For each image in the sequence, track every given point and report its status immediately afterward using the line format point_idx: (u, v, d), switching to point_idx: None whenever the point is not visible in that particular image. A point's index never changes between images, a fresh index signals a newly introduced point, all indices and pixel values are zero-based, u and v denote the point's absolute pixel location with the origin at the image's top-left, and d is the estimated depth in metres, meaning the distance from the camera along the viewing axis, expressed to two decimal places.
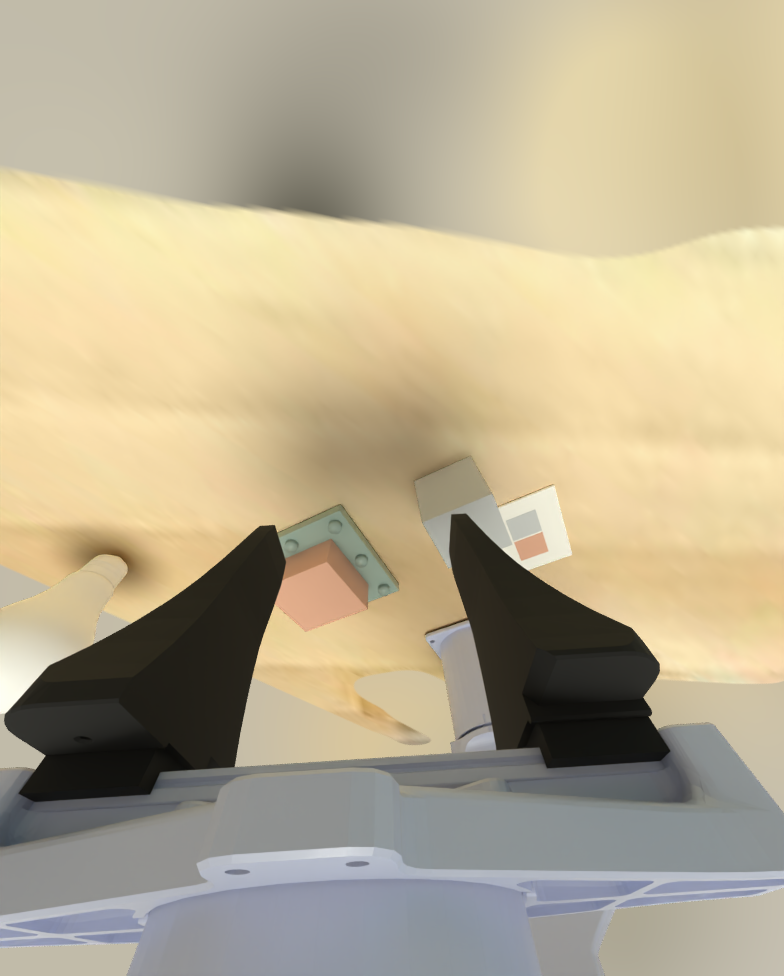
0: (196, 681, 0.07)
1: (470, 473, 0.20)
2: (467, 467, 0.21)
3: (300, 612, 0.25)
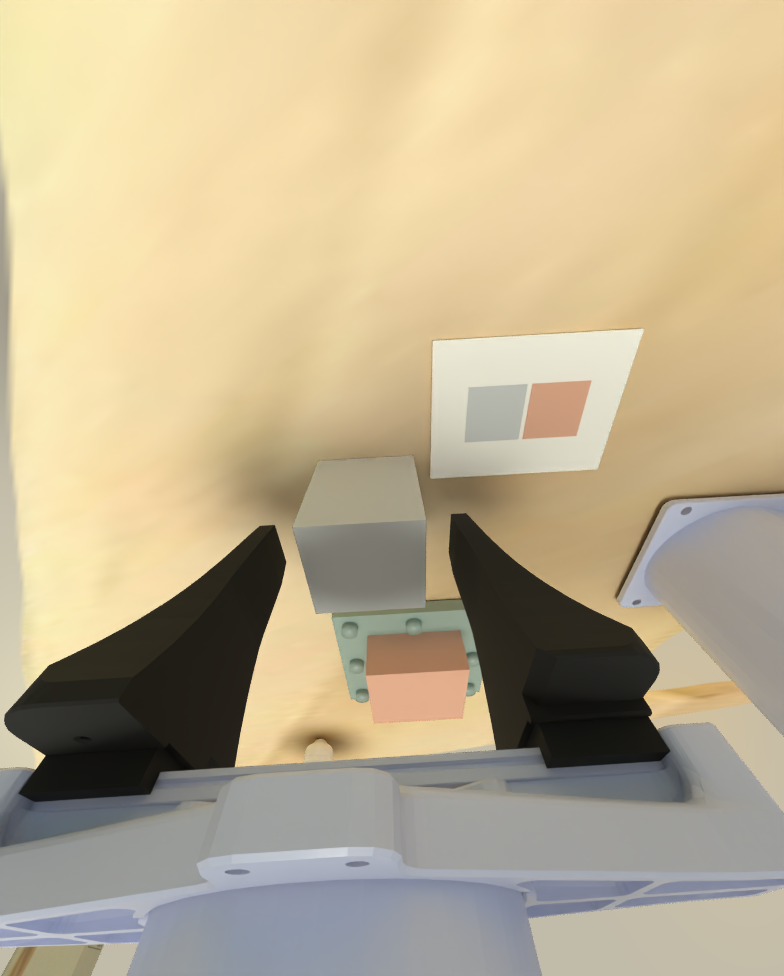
0: (196, 681, 0.07)
1: None
2: None
3: (429, 712, 0.20)
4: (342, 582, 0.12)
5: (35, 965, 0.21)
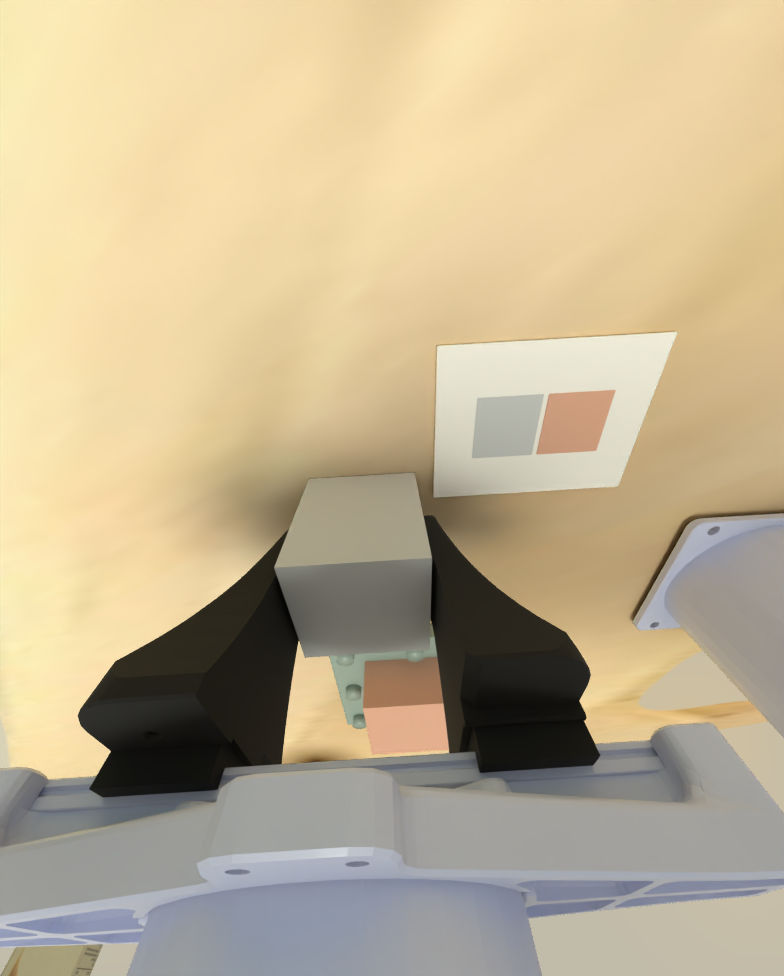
0: (252, 677, 0.07)
1: None
2: None
3: (432, 743, 0.19)
4: (334, 625, 0.10)
5: None
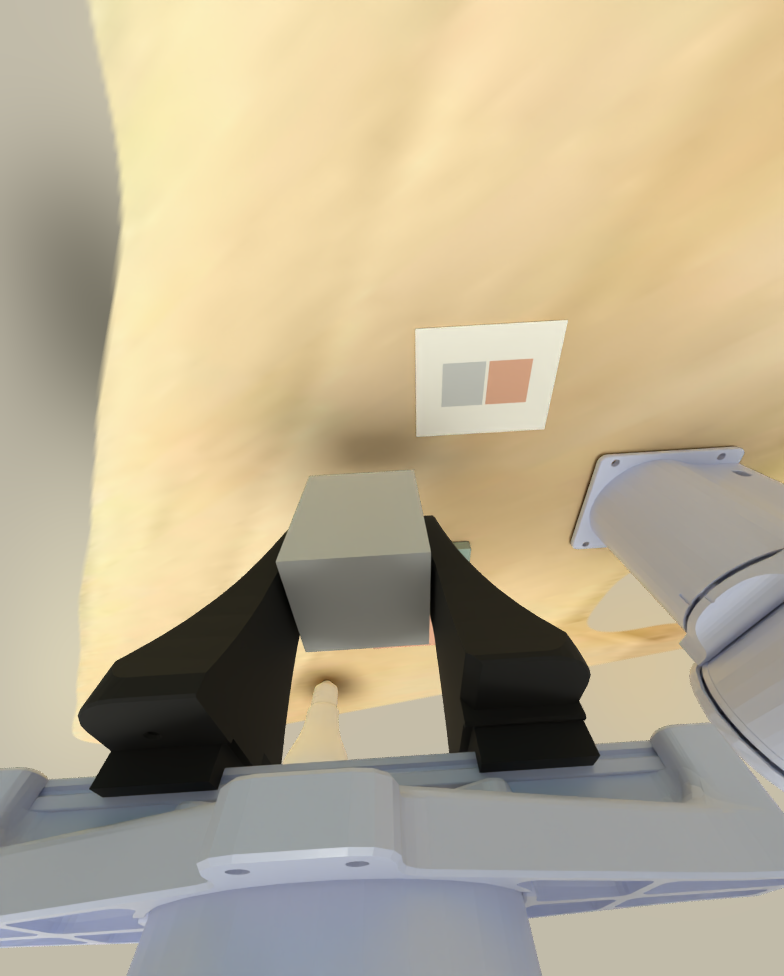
0: (252, 677, 0.07)
1: None
2: None
3: None
4: (334, 620, 0.10)
5: None
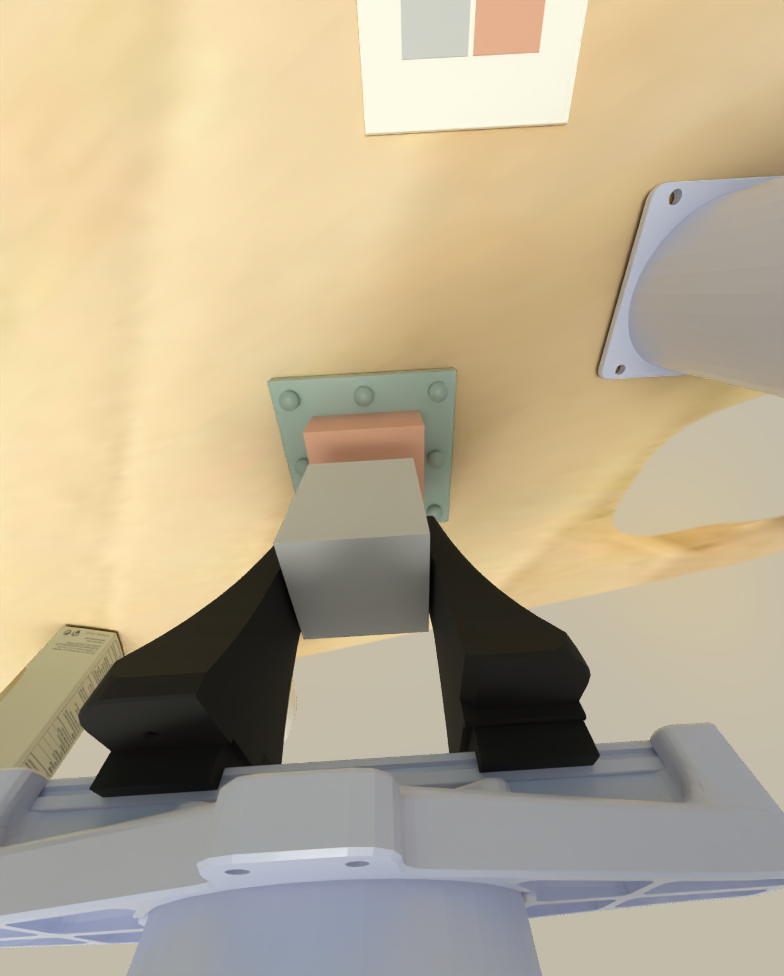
0: (252, 677, 0.07)
1: None
2: None
3: None
4: (332, 605, 0.10)
5: None
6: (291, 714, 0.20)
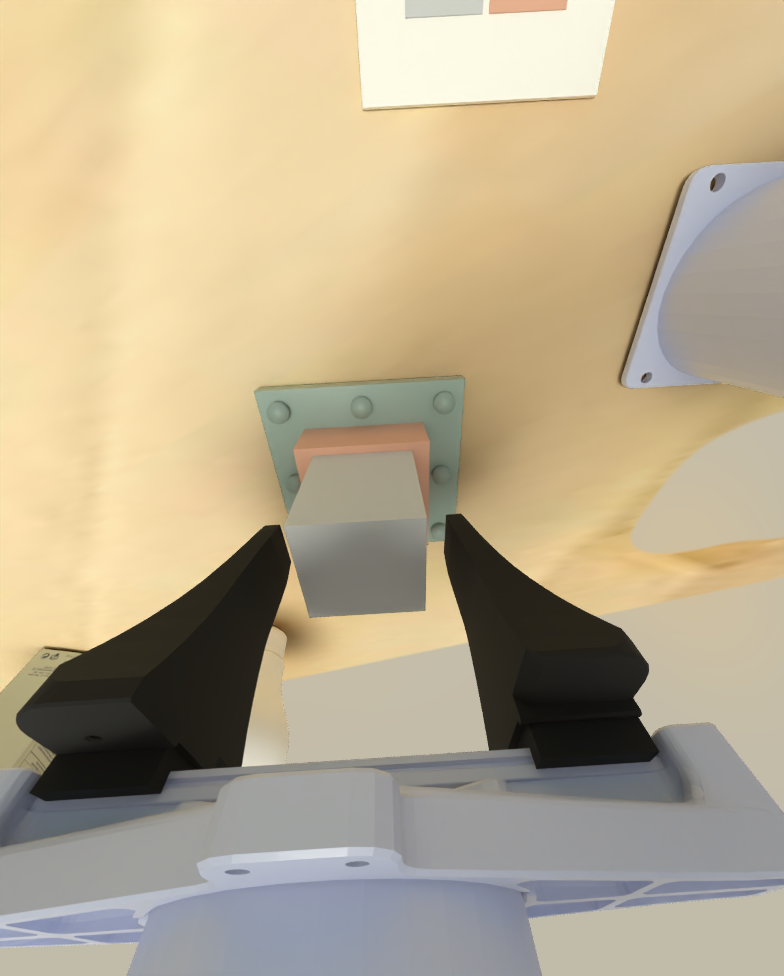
0: (205, 680, 0.07)
1: None
2: None
3: None
4: (337, 584, 0.11)
5: None
6: (283, 753, 0.18)
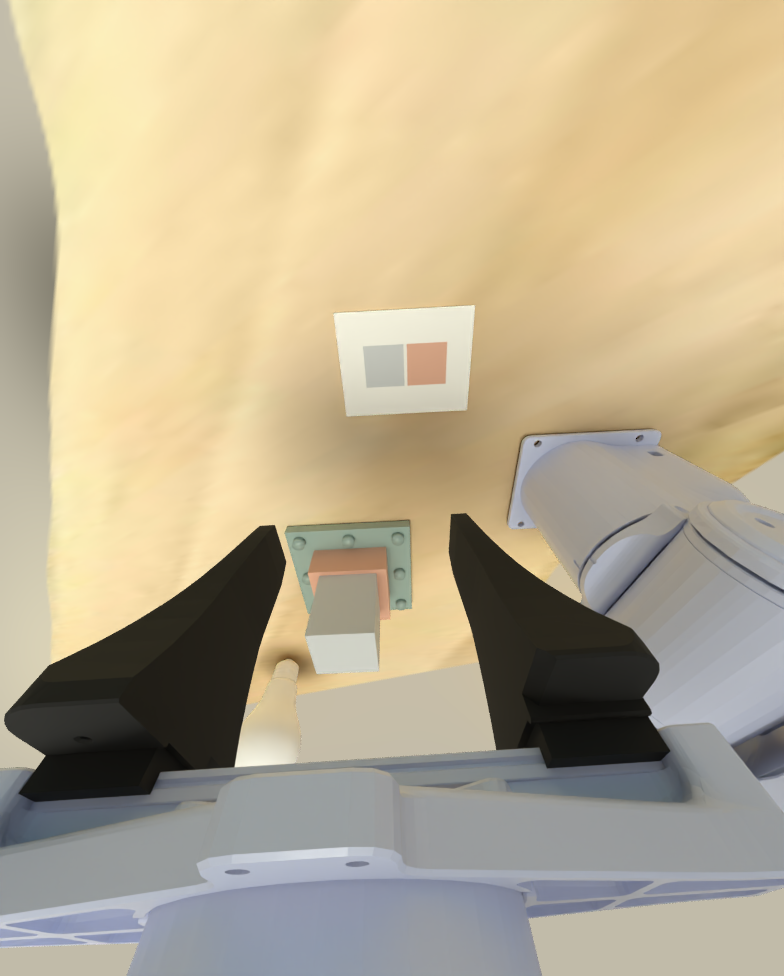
0: (196, 681, 0.07)
1: None
2: None
3: None
4: (331, 659, 0.21)
5: None
6: (297, 748, 0.28)
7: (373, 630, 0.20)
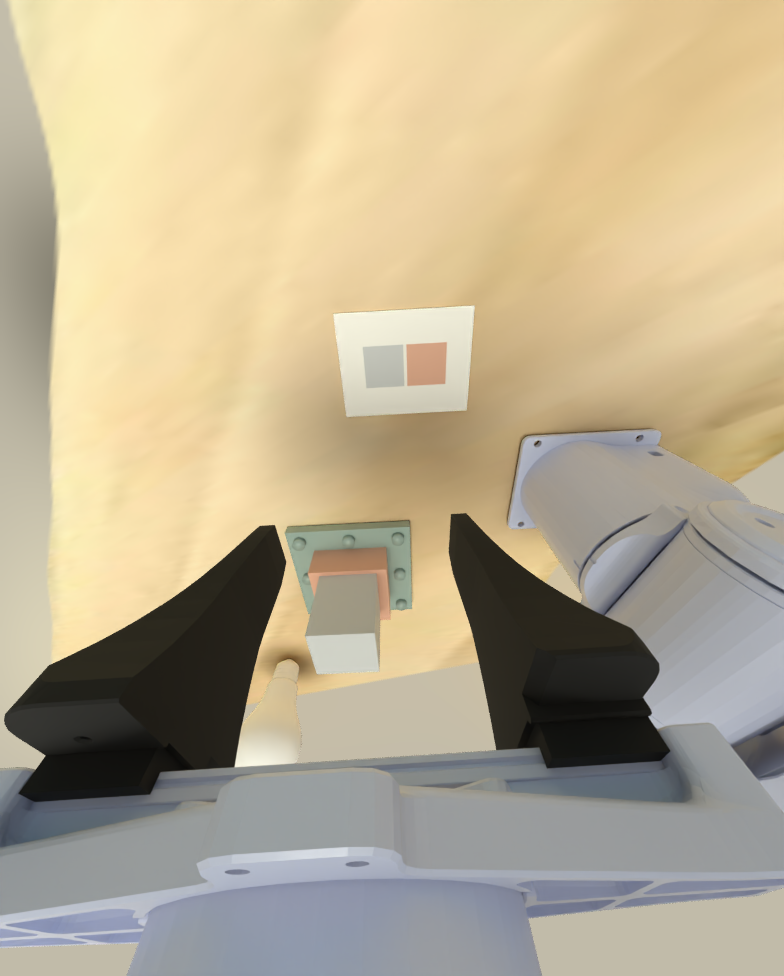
0: (196, 681, 0.07)
1: None
2: None
3: None
4: (331, 659, 0.21)
5: None
6: (298, 749, 0.28)
7: (373, 630, 0.20)
